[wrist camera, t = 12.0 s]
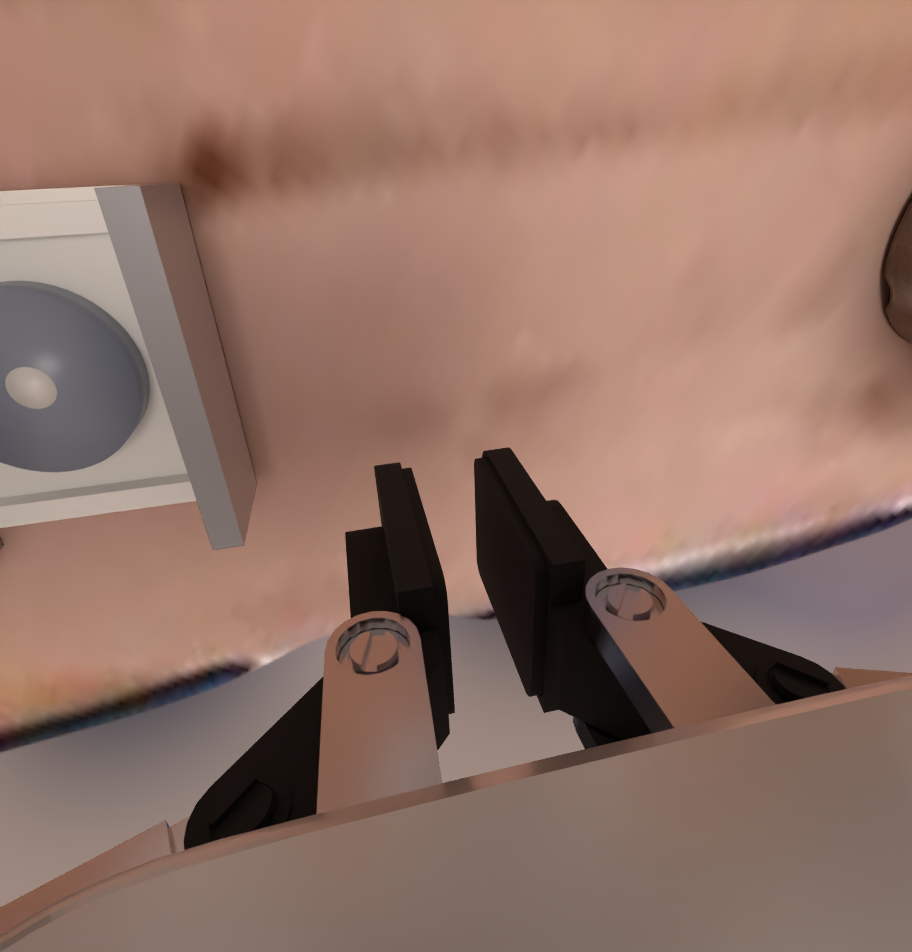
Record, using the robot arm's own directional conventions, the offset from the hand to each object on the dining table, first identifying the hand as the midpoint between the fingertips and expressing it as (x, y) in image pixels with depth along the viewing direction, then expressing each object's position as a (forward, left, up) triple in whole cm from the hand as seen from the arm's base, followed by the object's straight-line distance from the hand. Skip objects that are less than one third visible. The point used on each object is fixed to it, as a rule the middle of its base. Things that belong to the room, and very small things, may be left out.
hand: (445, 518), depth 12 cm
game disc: (-13, 0, -14) cm, 19 cm away
